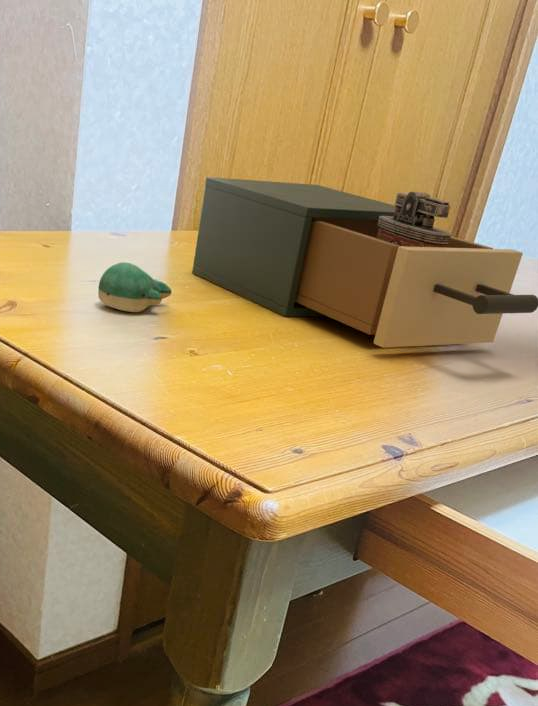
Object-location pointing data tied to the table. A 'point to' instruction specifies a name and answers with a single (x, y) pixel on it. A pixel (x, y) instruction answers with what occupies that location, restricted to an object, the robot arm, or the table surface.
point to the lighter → (415, 221)
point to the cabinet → (267, 236)
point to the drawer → (408, 285)
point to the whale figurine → (130, 288)
